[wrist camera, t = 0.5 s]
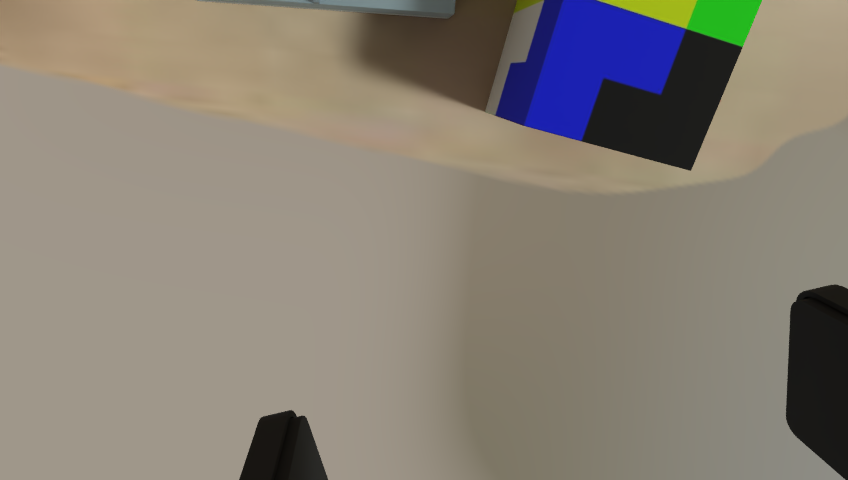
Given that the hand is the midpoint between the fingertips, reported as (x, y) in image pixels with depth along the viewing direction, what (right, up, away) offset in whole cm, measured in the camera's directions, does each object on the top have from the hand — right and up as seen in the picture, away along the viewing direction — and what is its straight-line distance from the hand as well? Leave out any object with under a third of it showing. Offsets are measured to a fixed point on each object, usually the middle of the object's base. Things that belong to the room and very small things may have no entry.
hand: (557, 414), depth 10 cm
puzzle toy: (+8, +16, +26) cm, 32 cm away
